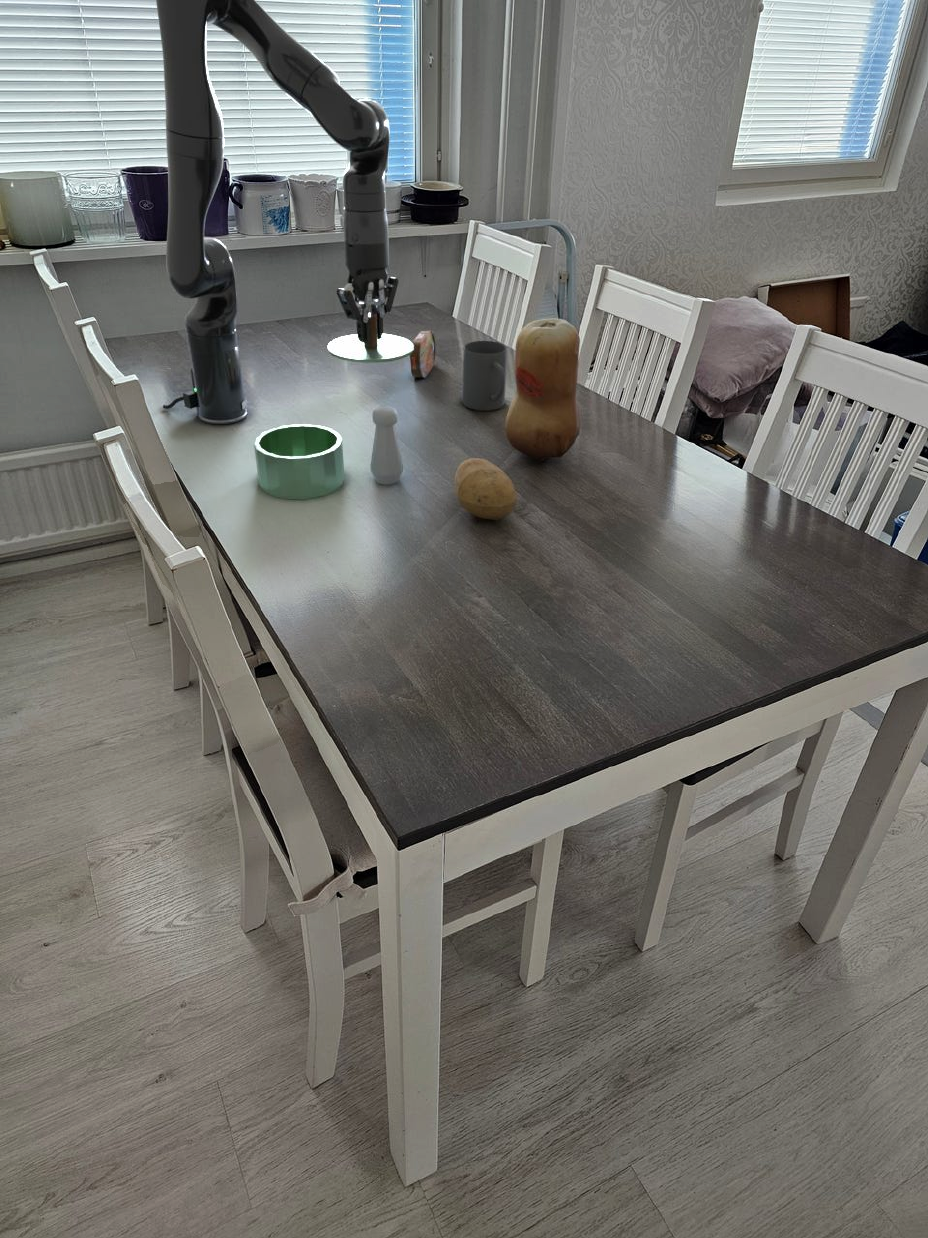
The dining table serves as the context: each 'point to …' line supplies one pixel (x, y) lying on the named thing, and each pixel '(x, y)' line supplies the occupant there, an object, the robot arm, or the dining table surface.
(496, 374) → the mug
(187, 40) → the robot arm
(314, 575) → the dining table surface
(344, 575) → the dining table surface
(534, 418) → the butternut squash
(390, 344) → the pot lid
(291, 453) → the pot
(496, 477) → the potato
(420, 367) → the tin
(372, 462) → the salt shaker
